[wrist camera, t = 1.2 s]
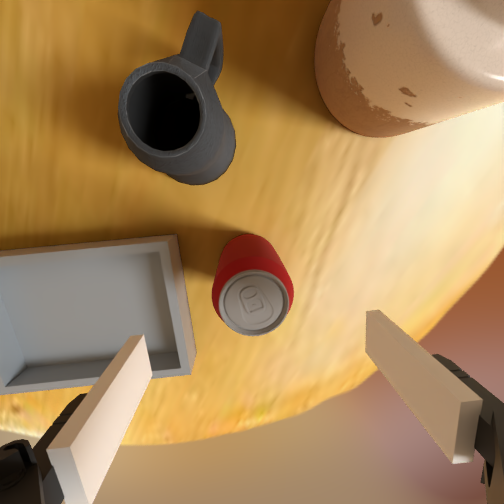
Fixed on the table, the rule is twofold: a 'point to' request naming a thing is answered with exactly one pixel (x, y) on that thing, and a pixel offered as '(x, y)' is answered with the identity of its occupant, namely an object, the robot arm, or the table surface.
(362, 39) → the vase
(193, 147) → the mug
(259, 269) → the beverage can
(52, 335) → the bin
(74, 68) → the table surface
